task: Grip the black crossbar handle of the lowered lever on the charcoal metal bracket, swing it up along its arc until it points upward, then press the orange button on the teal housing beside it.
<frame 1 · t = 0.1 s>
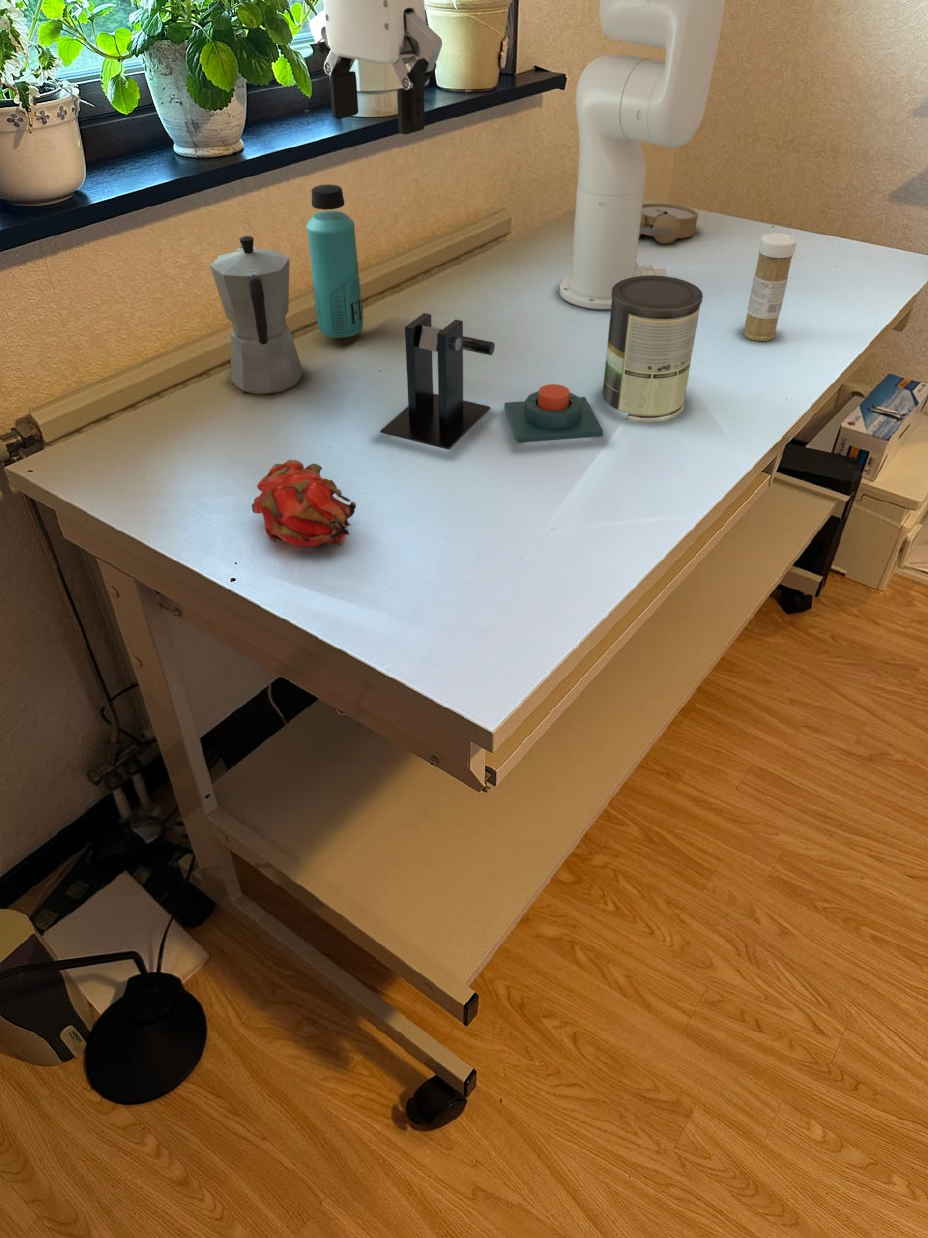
hand: (378, 123, 97), 31 cm above the table, tool pointing down, fingers open, 9 cm apart
sprinkles bottle: (758, 336, 131), on the table
button box: (551, 428, 111), on the table
alarm clock: (658, 235, 163), on the table
coffeepot: (268, 383, 120), on the table
bracket: (436, 427, 111), on the table
beverage bottle: (341, 339, 131), on the table
button: (553, 397, 108), point 4 cm above the table, slide at 0.2 cm
dragon fruit: (309, 539, 94), on the table
lever: (452, 341, 109), point 9 cm above the table, hinge at -25.0°
coffee can: (642, 404, 116), on the table
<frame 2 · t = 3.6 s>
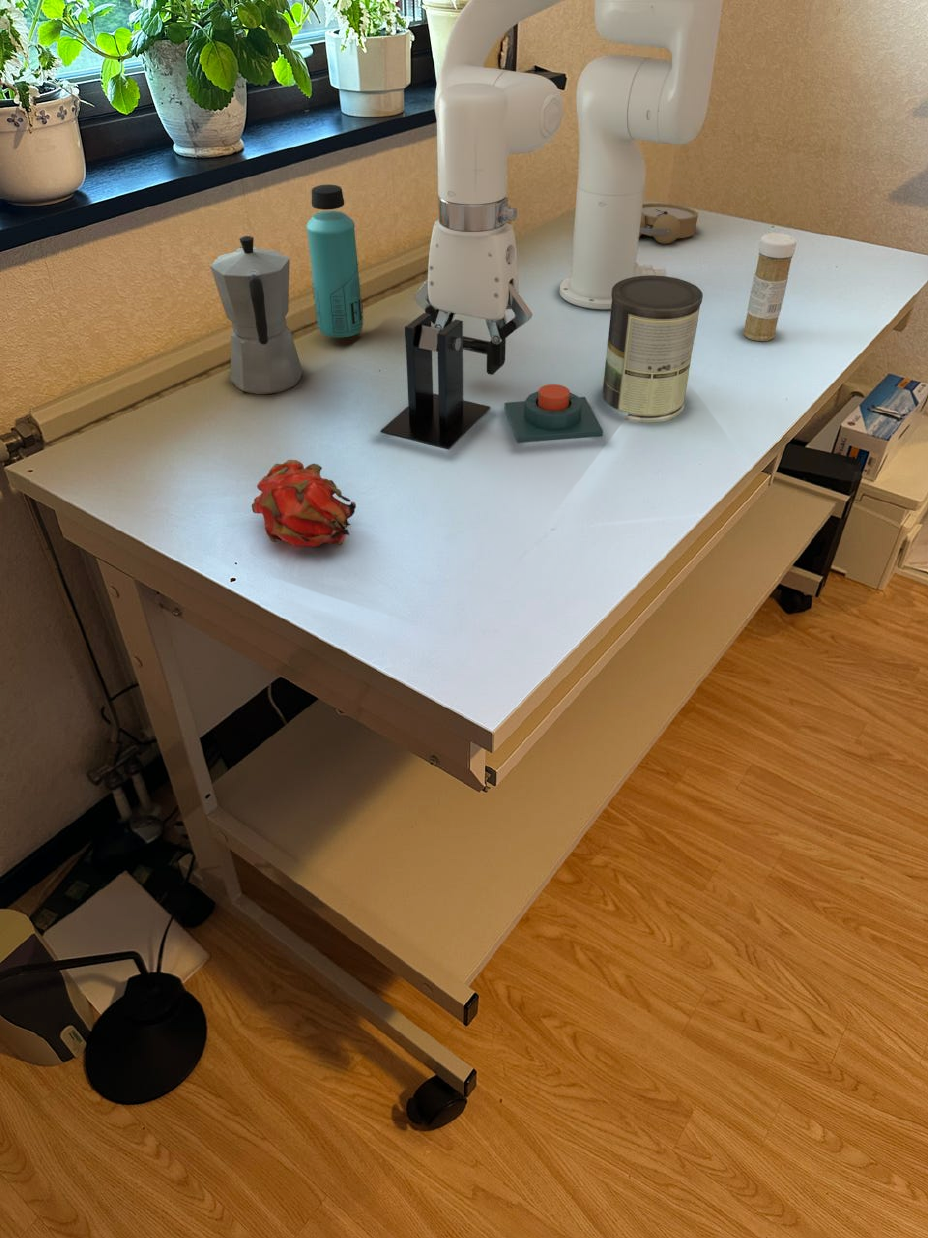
hand: (471, 363, 115), 4 cm above the table, tool pointing down, fingers closed on lever, 5 cm apart
lever: (452, 341, 109), point 9 cm above the table, hinge at -25.0°, touching gripper
everything else where it was.
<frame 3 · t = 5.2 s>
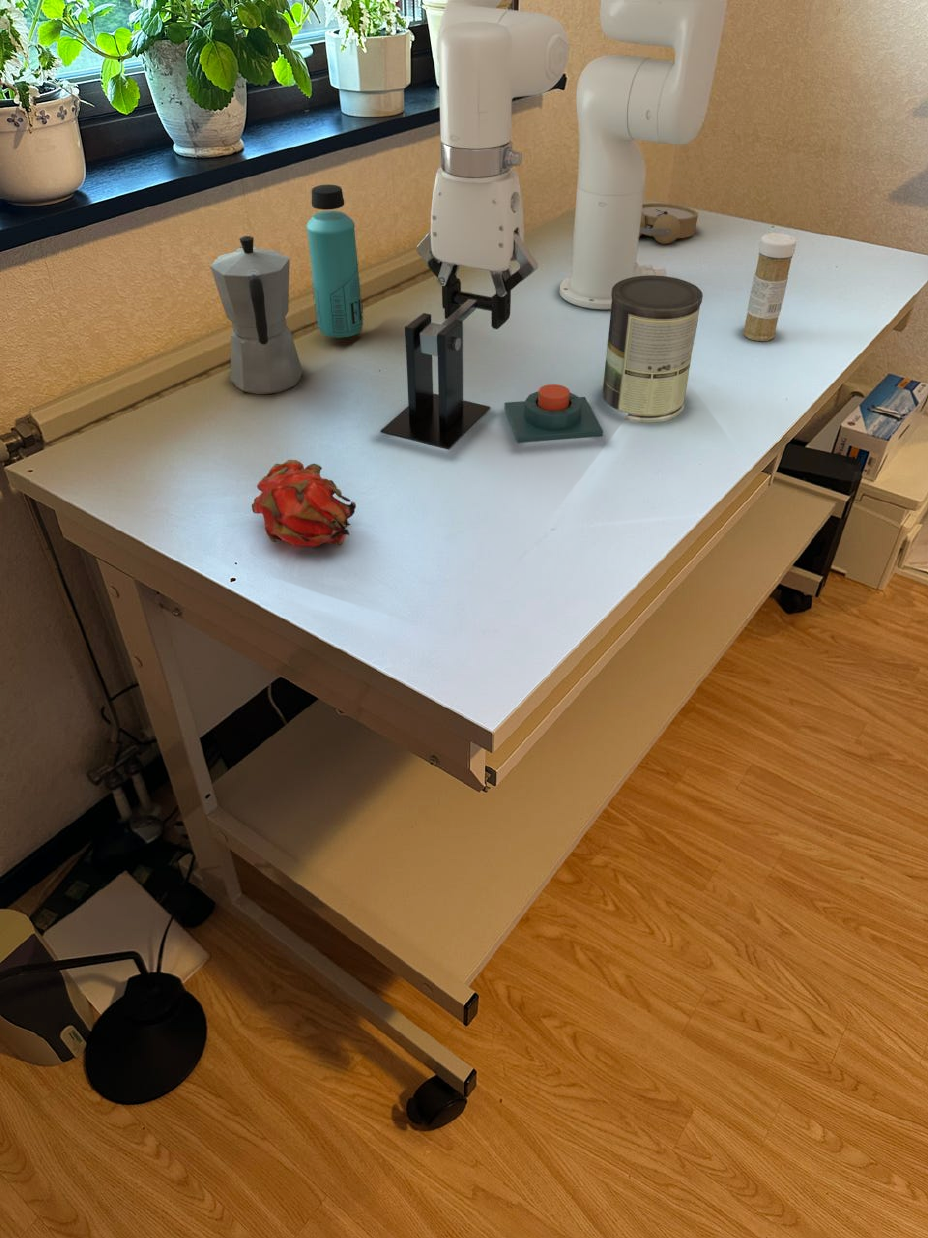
hand: (476, 318, 112), 9 cm above the table, tool pointing down, fingers closed on lever, 5 cm apart
lever: (454, 320, 107), point 11 cm above the table, hinge at 3.4°, touching gripper
everything else where it was.
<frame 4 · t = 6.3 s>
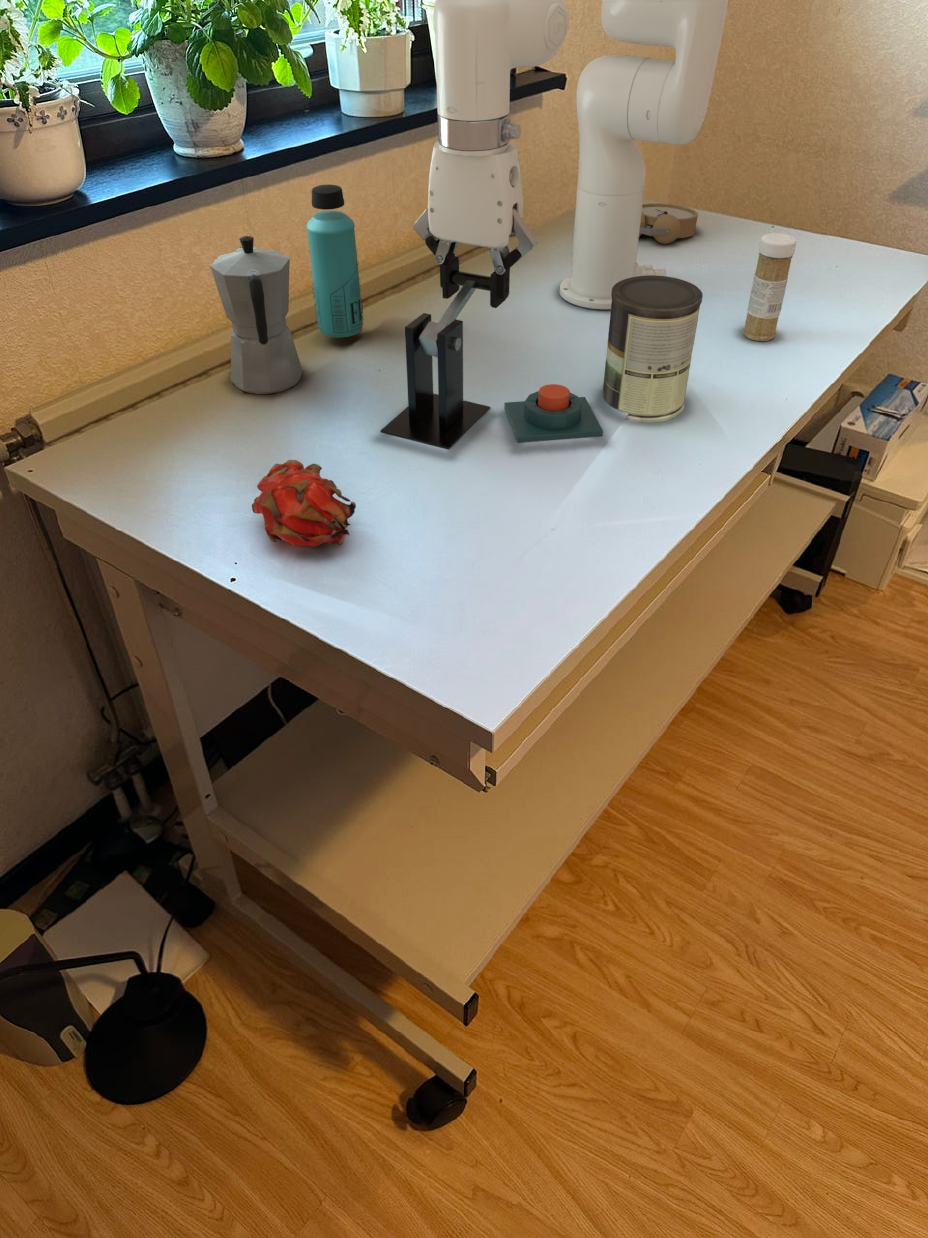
hand: (474, 297, 110), 12 cm above the table, tool pointing down, fingers closed on lever, 5 cm apart
lever: (453, 311, 106), point 12 cm above the table, hinge at 17.6°, touching gripper
everything else where it was.
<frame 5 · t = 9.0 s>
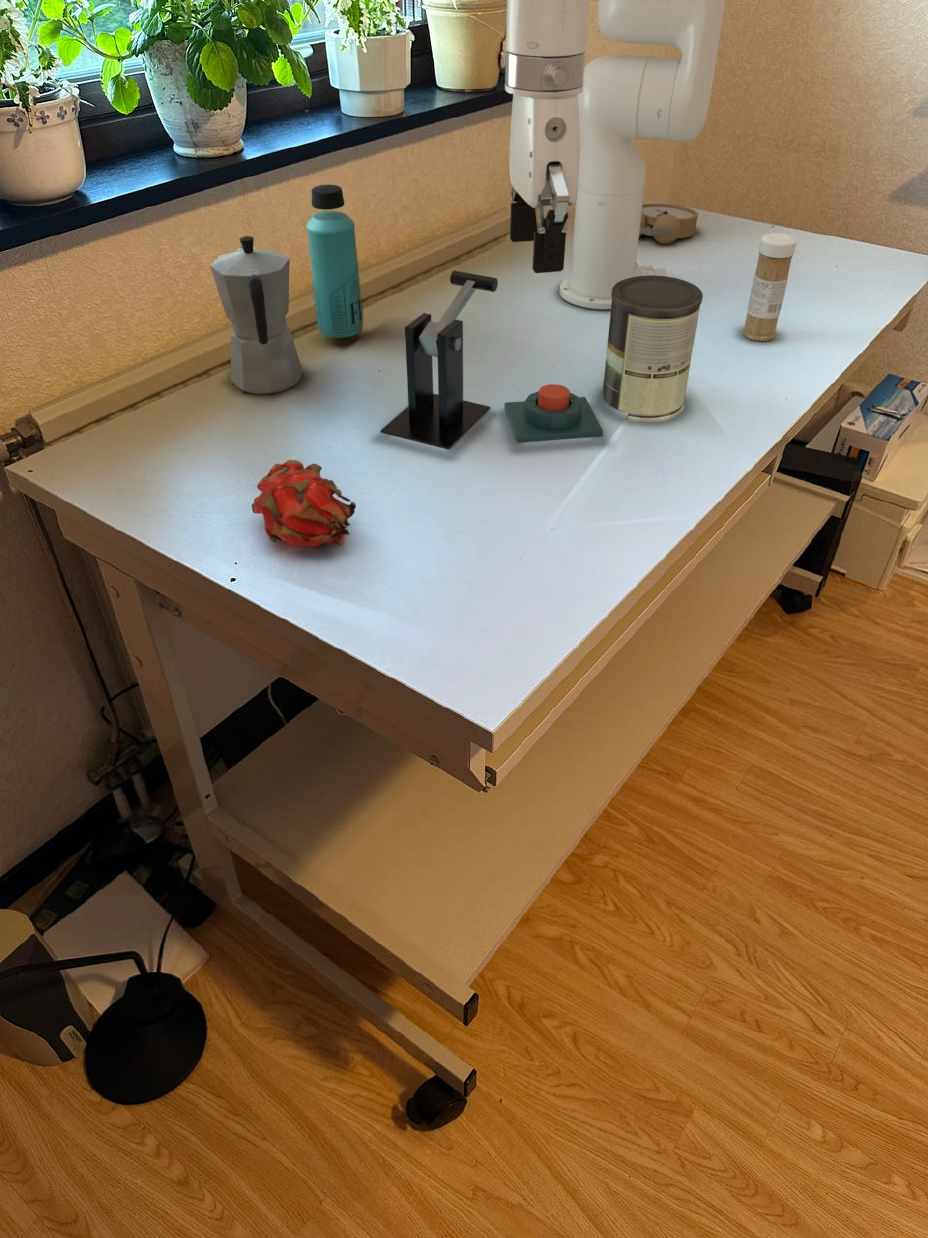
hand: (535, 255, 100), 20 cm above the table, tool pointing down, fingers open, 9 cm apart
lever: (453, 311, 106), point 12 cm above the table, hinge at 17.4°
everything else where it was.
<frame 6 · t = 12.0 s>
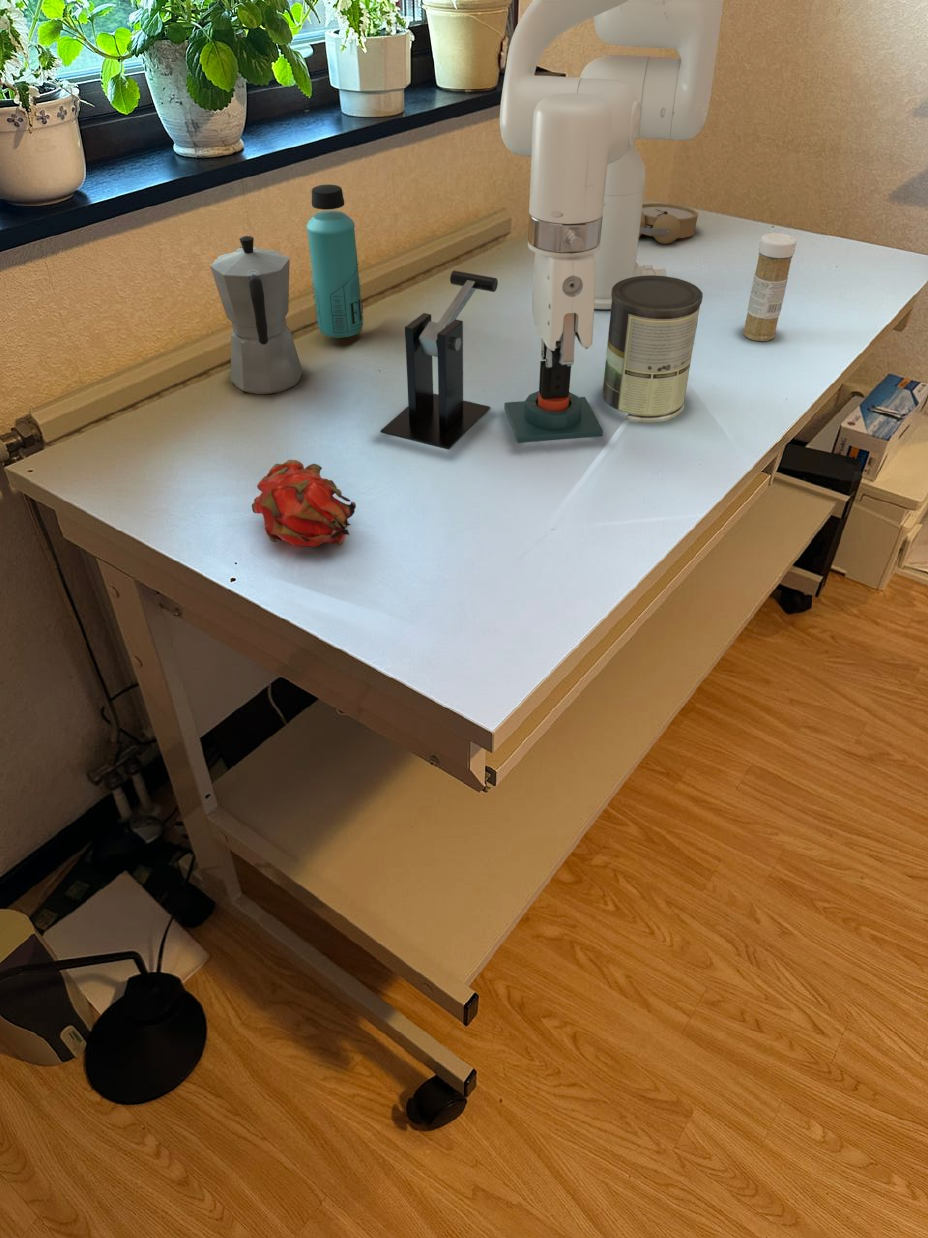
hand: (553, 394, 108), 4 cm above the table, tool pointing down, fingers closed
button: (553, 401, 109), point 4 cm above the table, slide at -0.3 cm, touching gripper
everything else where it was.
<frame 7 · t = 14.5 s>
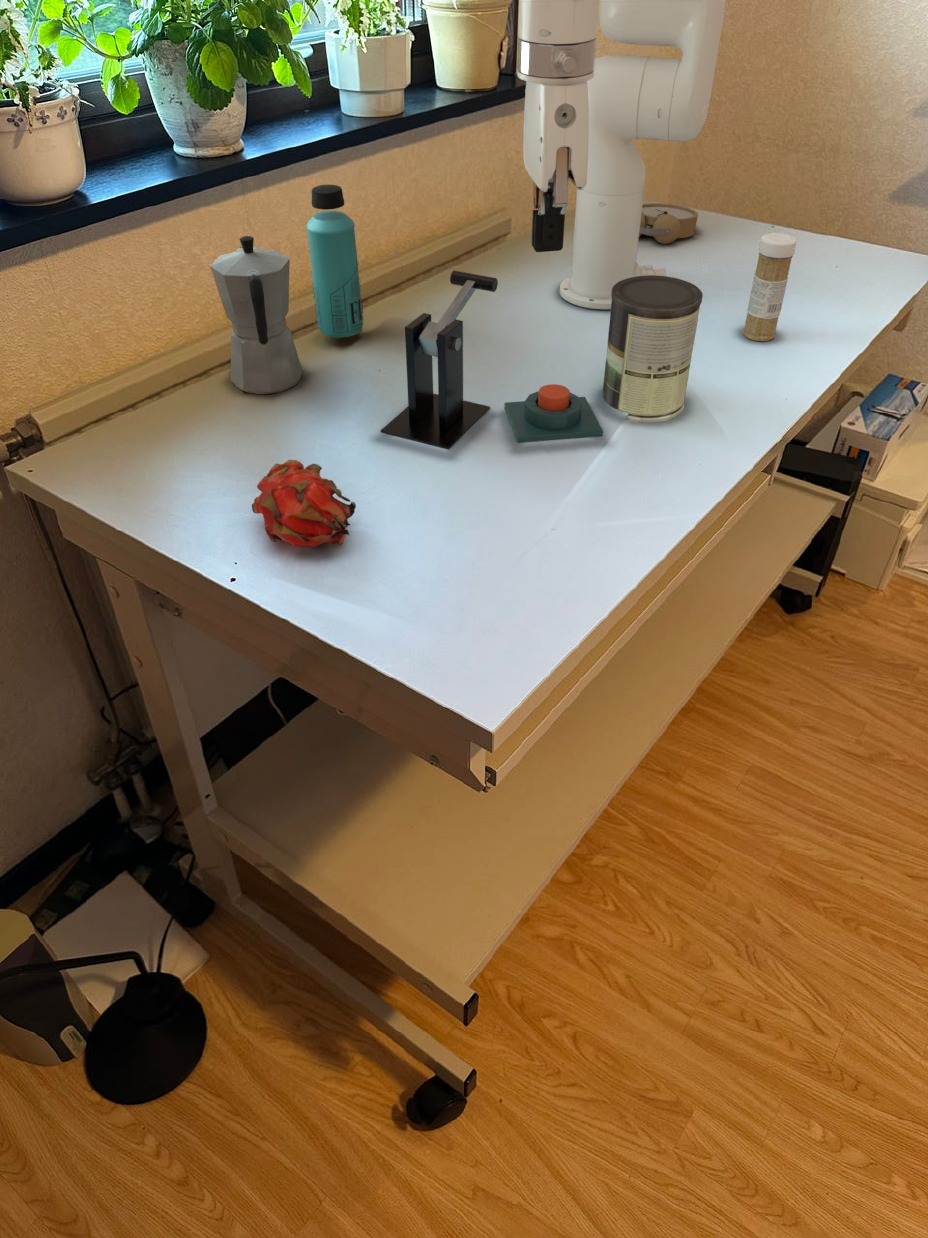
hand: (547, 248, 103), 19 cm above the table, tool pointing down, fingers closed
button: (553, 398, 108), point 4 cm above the table, slide at 0.1 cm
everything else where it was.
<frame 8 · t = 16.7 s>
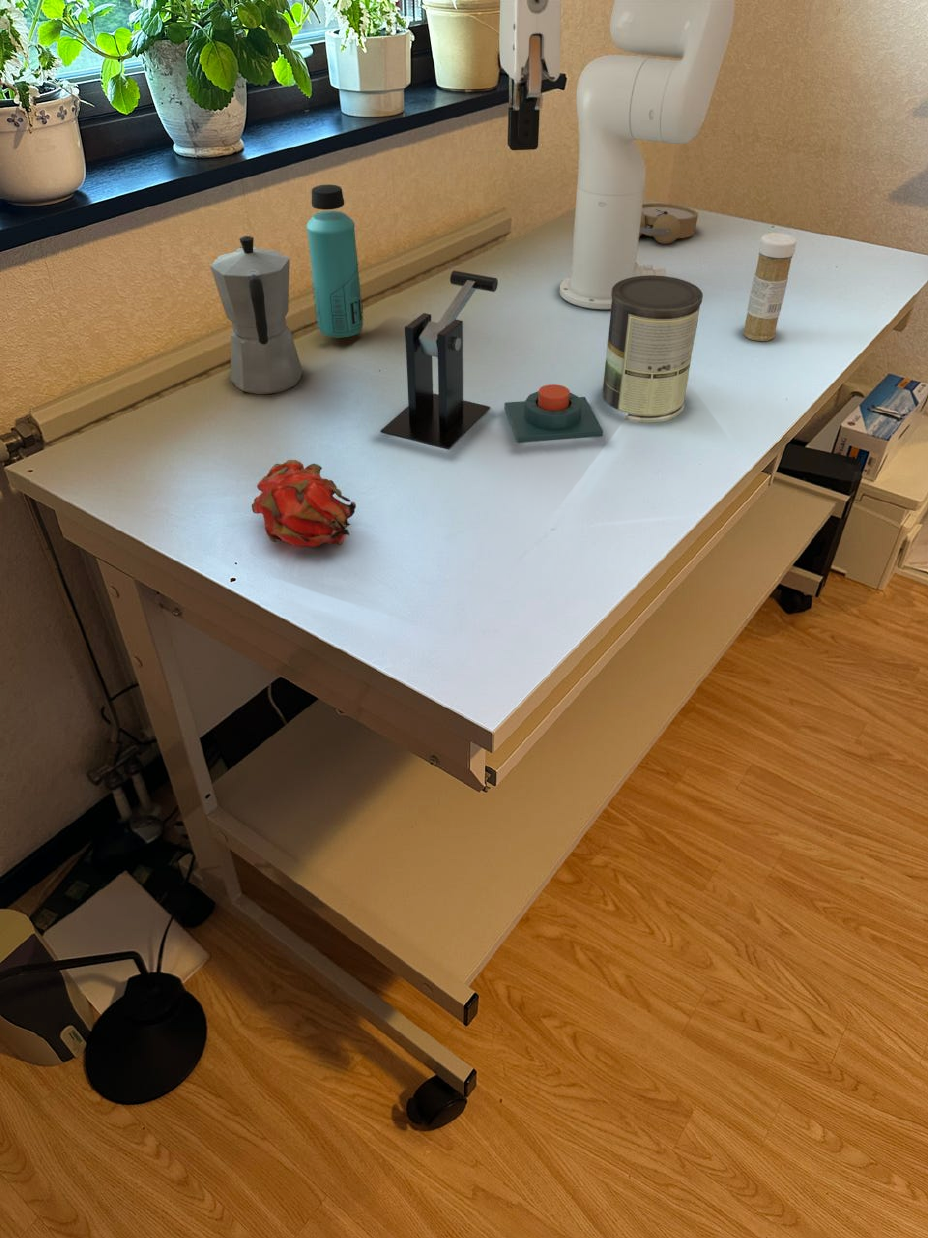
hand: (522, 147, 105), 27 cm above the table, tool pointing down, fingers closed
nothing on the table moved.
at the end: lever at +17° (first picture: -25°); button pushed in 1.1 cm at the most during the clip, back to where it started at the end; button slide at 0.1 cm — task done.
